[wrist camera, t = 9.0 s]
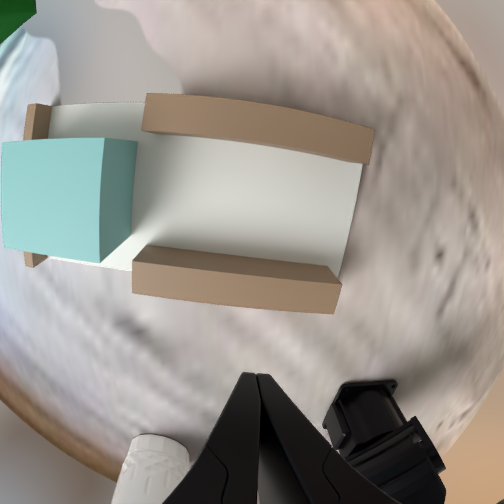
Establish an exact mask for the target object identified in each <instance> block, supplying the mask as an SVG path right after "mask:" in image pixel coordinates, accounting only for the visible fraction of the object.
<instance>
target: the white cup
mask: <svg viewBox="0 0 504 504" xmlns="http://www.w3.org/2000/svg"><path fill="white" fill-rule="evenodd" d="M188 471H189V453H188V451H187V449H186V448H185V447H184V446H183V445H181V444H180V443H179V442H177V441H175V440H172V439H170V438H167V437H164V436H159V435H153V434H147V435H139V436H137V437H135V438H133V439H132V442H131V445H130V448H129V452H128V454H127V457H126V458H125V461H124V463H123V466H122V469H121V472H120V475H119V478H118V482H117V485H116V488H115V492H114V495H113V499H112V502H111V504H162V503H163V502H164V500H165V499H166V498H167V497H168V496H169V495H170V494H171V492H172V491H173V490H174V489H175V488H176V487H177V485H178V484H179V483H180V482H181V481H182V479H183V478H184V477H185V475H186V474H187V473H188Z"/></svg>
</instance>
